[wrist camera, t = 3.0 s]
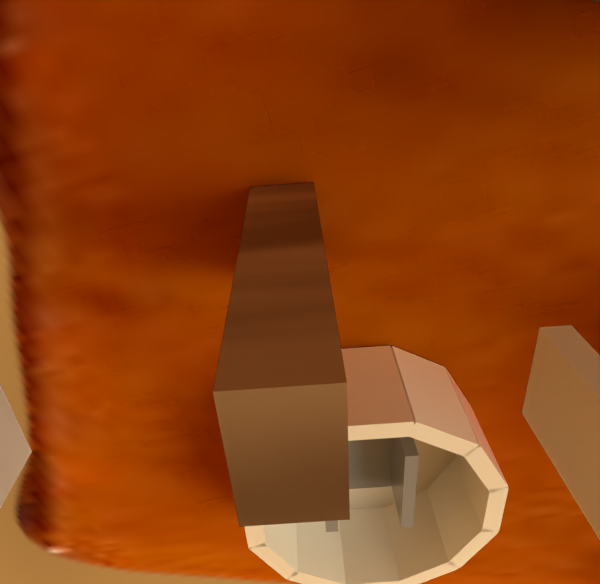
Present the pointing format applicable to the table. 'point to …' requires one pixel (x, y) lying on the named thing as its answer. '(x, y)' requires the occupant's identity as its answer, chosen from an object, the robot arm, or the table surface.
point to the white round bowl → (398, 482)
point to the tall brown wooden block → (283, 368)
